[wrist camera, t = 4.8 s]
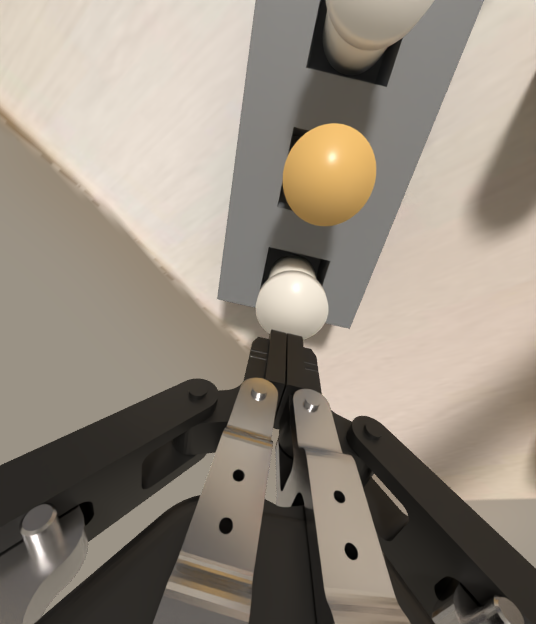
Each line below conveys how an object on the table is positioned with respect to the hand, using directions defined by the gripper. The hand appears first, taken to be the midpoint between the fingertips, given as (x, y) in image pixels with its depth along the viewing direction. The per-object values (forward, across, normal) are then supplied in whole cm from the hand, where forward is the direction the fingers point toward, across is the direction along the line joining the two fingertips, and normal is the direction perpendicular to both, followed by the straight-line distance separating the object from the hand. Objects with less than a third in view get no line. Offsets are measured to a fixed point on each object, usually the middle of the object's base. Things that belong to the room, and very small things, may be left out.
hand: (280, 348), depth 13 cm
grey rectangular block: (+15, -1, -8) cm, 17 cm away
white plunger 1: (+12, -1, 0) cm, 12 cm away
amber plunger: (+12, -1, -8) cm, 14 cm away
